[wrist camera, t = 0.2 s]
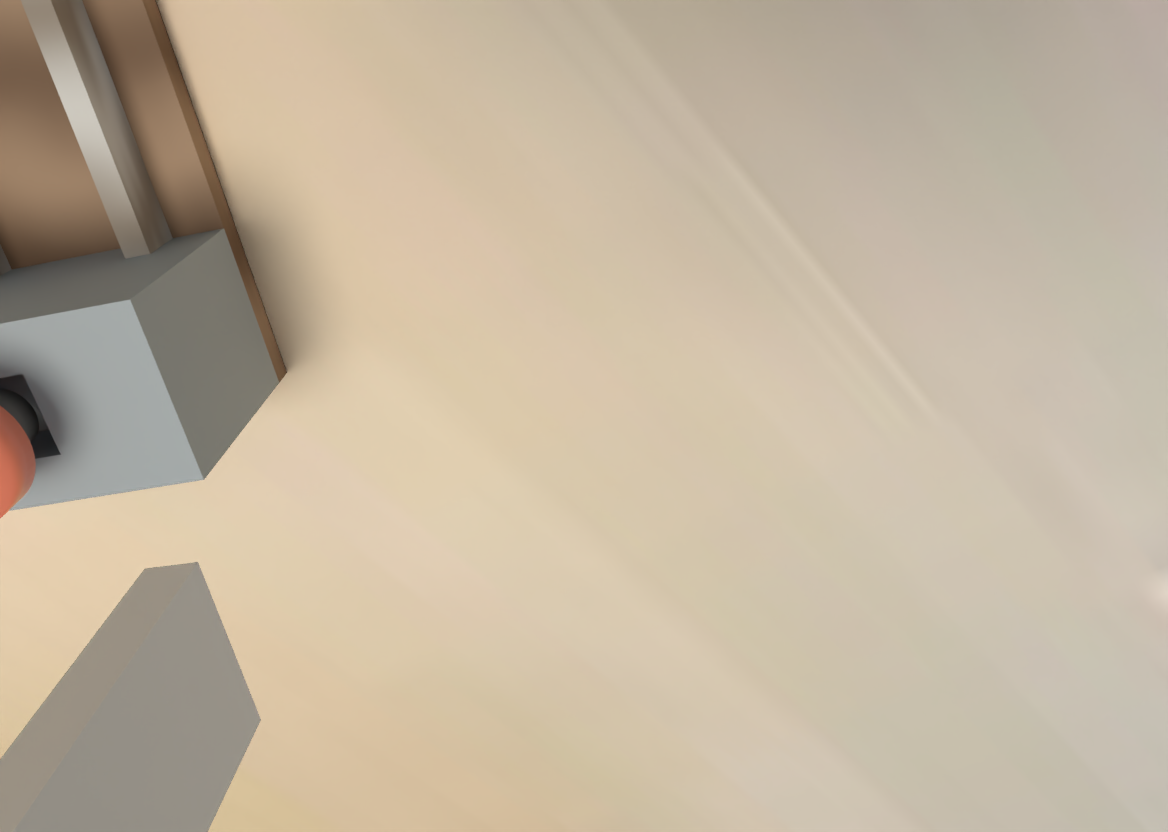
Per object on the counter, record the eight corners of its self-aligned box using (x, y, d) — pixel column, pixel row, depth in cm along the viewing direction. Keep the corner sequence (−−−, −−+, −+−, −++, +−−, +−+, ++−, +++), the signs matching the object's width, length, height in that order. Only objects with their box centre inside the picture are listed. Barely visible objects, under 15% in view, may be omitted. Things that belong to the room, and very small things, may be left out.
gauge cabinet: (-60, 283, 41) (-209, 362, 34) (223, 228, 40) (130, 299, 33) (11, 428, 44) (-113, 530, 37) (279, 382, 42) (203, 479, 35)
